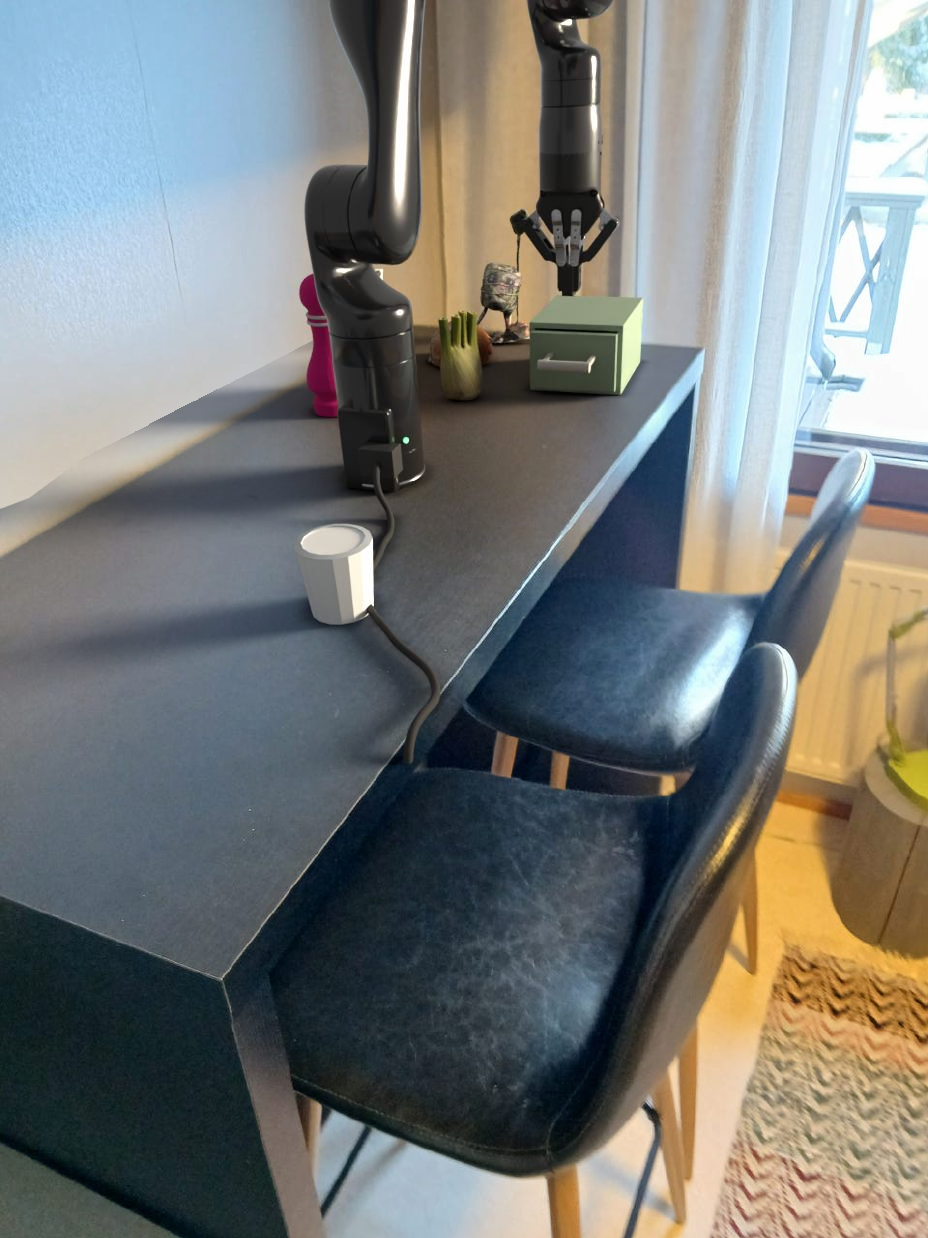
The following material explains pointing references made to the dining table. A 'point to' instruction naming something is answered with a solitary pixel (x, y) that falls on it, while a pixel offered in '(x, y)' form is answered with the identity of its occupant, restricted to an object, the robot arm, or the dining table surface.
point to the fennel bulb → (460, 356)
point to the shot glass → (337, 571)
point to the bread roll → (435, 349)
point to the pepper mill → (319, 353)
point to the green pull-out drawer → (573, 359)
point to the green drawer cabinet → (598, 327)
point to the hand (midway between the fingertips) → (569, 294)
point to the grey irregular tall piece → (505, 290)
